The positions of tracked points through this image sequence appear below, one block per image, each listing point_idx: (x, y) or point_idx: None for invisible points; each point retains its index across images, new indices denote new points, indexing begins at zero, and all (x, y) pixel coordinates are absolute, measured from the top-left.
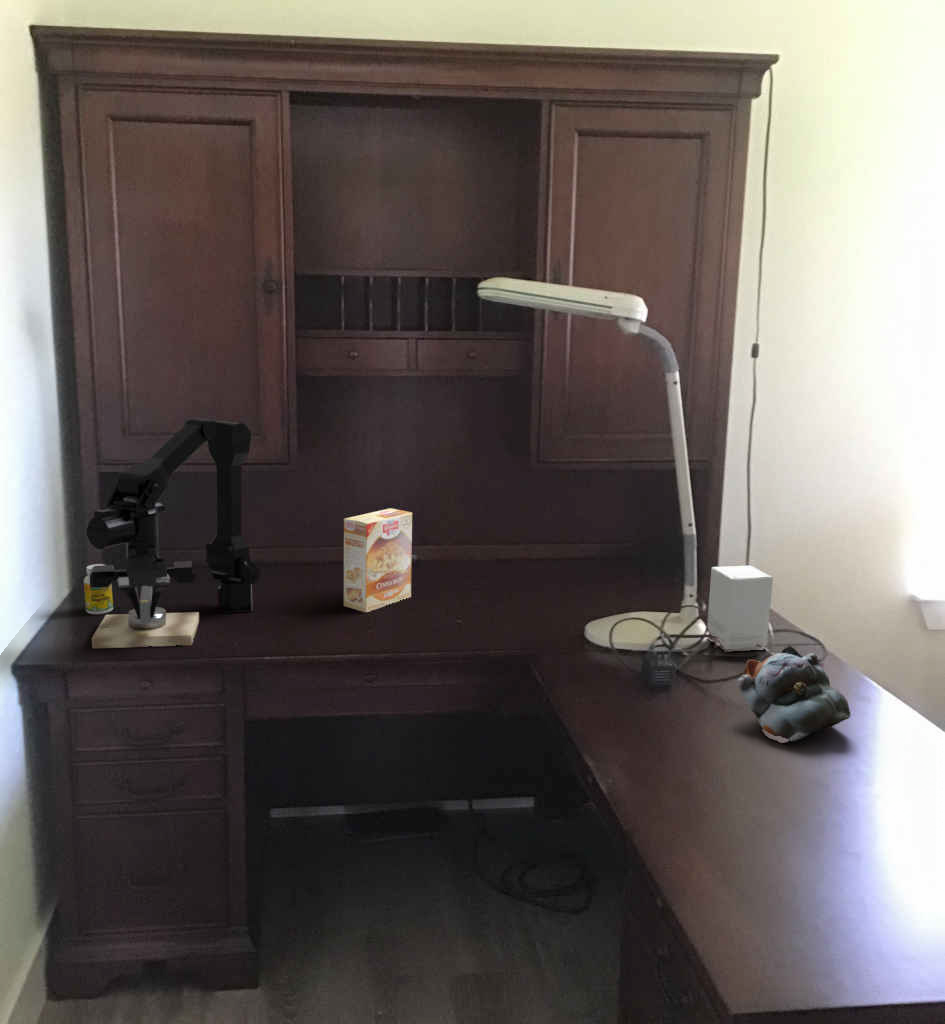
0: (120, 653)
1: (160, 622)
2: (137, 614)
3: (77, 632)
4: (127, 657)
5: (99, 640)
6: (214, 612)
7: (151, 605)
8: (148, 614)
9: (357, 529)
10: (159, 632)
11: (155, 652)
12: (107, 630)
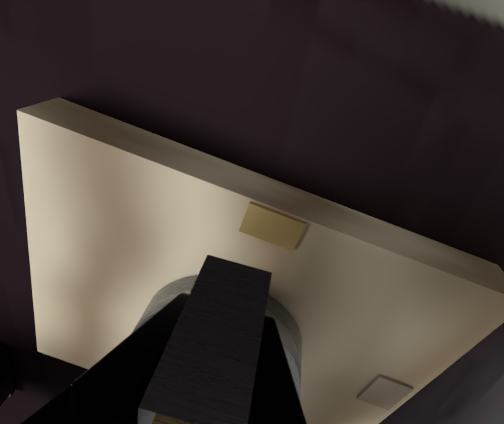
0: (414, 141)
1: (162, 299)
2: (278, 342)
3: (447, 412)
4: (409, 53)
5: (483, 280)
6: (28, 358)
7: (144, 372)
8: (201, 302)
9: None
10: (183, 227)
11: (240, 70)
12: (401, 351)
